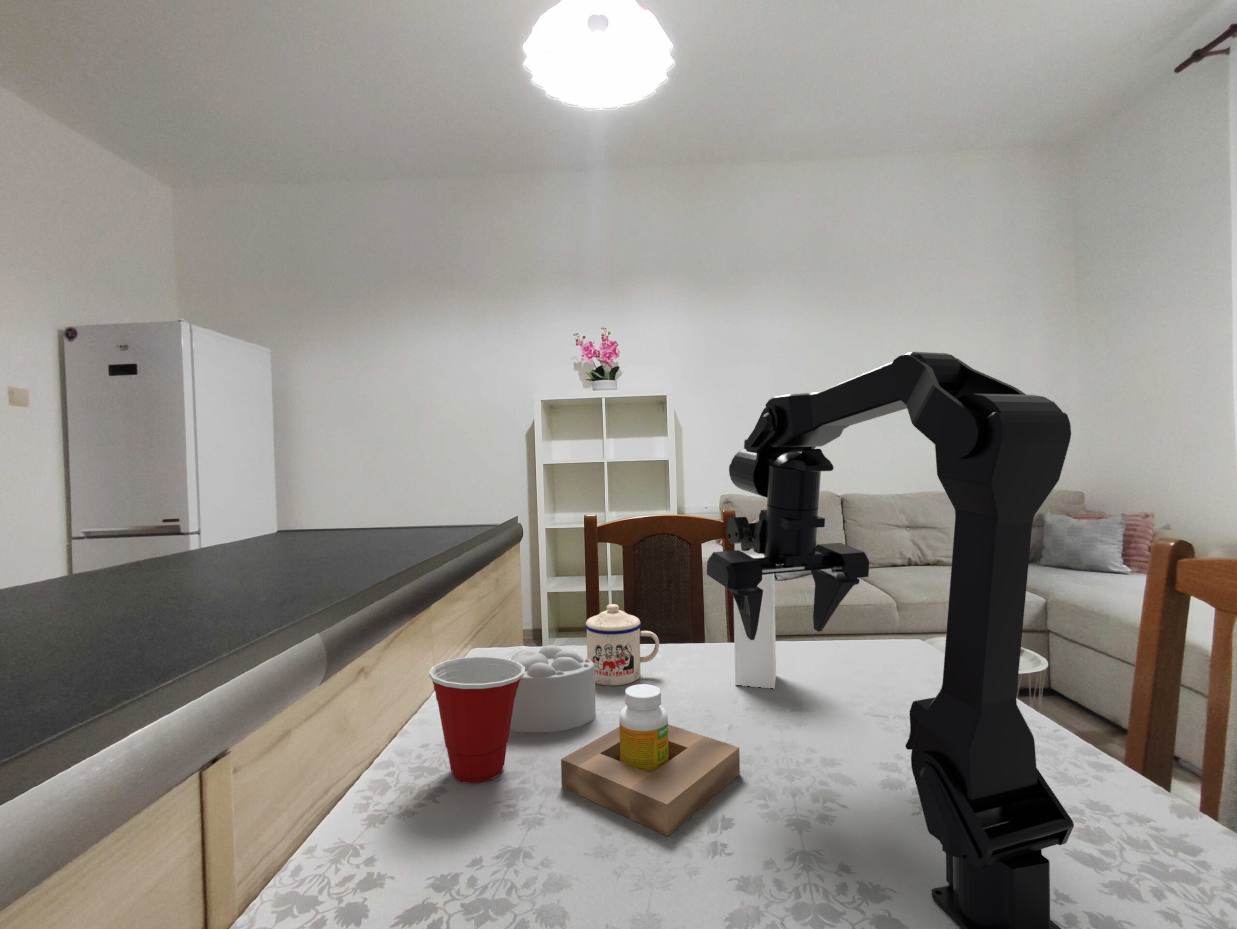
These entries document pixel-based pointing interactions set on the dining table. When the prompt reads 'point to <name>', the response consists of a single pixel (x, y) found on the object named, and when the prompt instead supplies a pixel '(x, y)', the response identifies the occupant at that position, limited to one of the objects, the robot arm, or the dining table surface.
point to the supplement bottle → (644, 729)
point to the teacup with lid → (616, 646)
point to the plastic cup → (476, 713)
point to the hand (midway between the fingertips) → (784, 634)
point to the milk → (757, 639)
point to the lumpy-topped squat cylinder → (553, 691)
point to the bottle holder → (653, 778)
